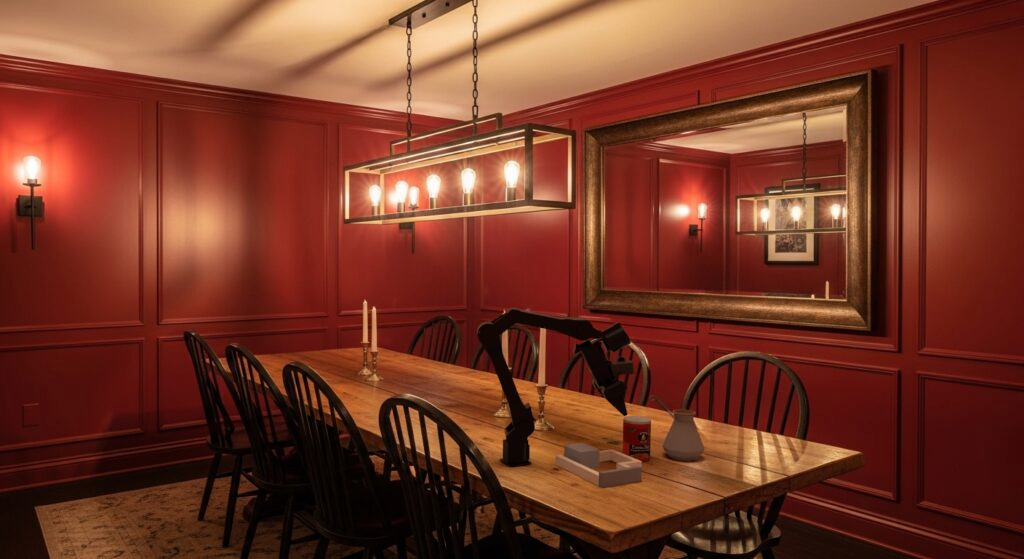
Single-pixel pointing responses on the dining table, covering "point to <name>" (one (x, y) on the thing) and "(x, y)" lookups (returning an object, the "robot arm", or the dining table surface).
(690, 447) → the coffee pot
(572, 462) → the white tray
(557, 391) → the dining table surface
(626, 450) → the canned food
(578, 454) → the slate block
